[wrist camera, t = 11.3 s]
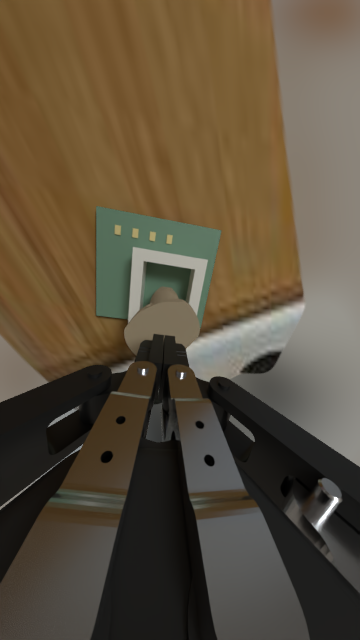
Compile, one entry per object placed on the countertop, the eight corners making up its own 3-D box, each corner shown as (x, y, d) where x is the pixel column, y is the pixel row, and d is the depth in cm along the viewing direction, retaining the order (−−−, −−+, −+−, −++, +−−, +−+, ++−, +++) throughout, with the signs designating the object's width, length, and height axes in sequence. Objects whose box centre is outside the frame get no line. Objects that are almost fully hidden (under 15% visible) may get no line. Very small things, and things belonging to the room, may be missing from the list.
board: (99, 208, 25) (95, 205, 24) (219, 231, 27) (221, 230, 26) (98, 313, 30) (95, 315, 29) (199, 326, 32) (200, 328, 31)
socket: (137, 248, 26) (132, 246, 22) (202, 259, 27) (207, 259, 23) (132, 322, 30) (127, 331, 26) (189, 329, 31) (192, 339, 27)
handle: (189, 300, 29) (207, 340, 15) (154, 315, 30) (142, 368, 16) (177, 273, 28) (185, 290, 14) (141, 290, 28) (113, 323, 14)
